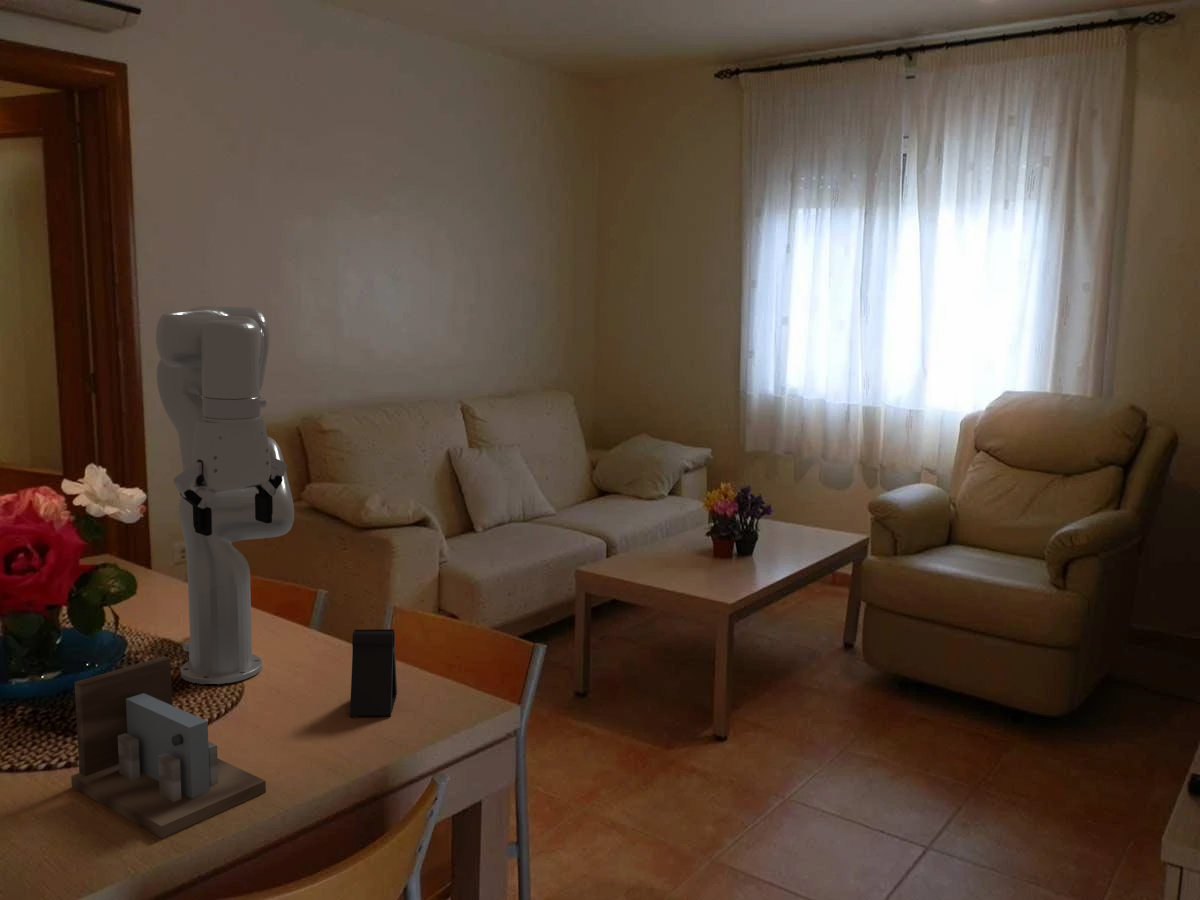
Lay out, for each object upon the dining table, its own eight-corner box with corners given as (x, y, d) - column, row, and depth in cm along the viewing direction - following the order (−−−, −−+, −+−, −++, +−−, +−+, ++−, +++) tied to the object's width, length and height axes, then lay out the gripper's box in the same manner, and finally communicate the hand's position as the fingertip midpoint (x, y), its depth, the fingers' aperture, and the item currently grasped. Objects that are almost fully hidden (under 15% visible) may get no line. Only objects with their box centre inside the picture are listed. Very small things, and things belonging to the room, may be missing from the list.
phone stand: (390, 717, 149) (390, 640, 147) (349, 718, 149) (348, 640, 147) (397, 694, 158) (397, 621, 156) (359, 694, 157) (358, 621, 156)
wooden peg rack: (71, 786, 126) (66, 684, 124) (174, 748, 137) (170, 654, 135) (162, 838, 114) (157, 726, 112) (265, 791, 126) (263, 689, 124)
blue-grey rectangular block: (122, 767, 128) (119, 700, 127) (146, 758, 131) (143, 693, 129) (186, 800, 120) (183, 729, 119) (209, 790, 123) (207, 721, 121)
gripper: (268, 401, 149) (270, 513, 152) (158, 411, 135) (162, 533, 138) (300, 407, 144) (301, 521, 147) (189, 418, 131) (193, 544, 134)
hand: (234, 527), depth 143 cm, fingers open, 9 cm apart
